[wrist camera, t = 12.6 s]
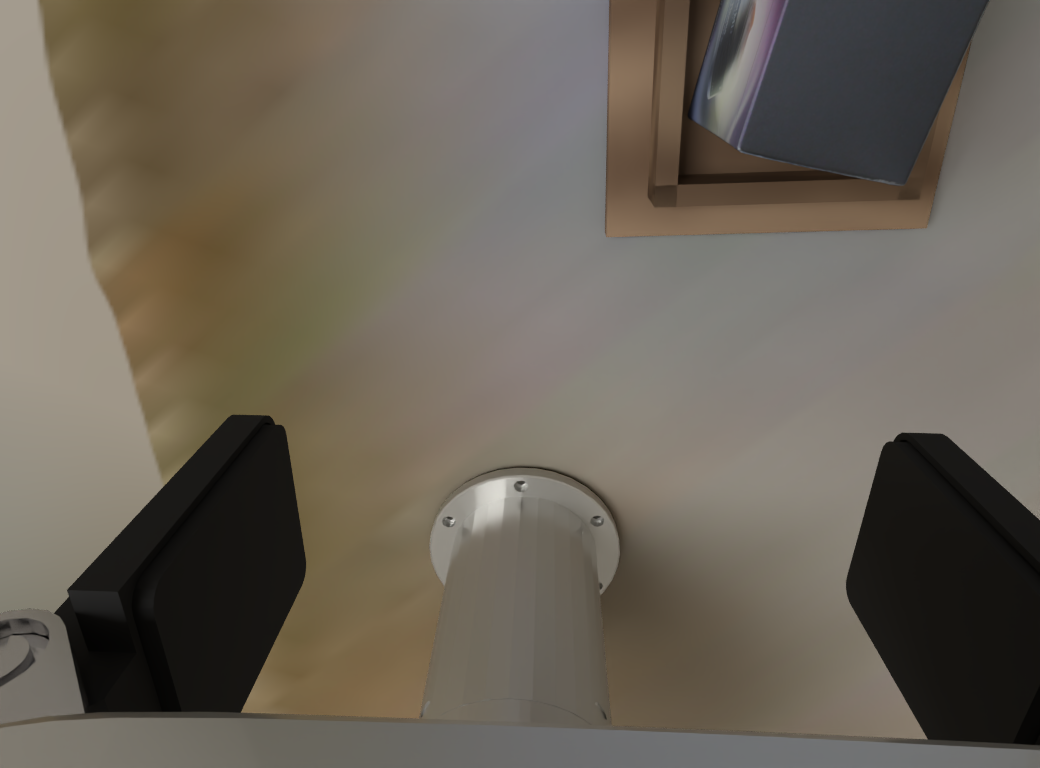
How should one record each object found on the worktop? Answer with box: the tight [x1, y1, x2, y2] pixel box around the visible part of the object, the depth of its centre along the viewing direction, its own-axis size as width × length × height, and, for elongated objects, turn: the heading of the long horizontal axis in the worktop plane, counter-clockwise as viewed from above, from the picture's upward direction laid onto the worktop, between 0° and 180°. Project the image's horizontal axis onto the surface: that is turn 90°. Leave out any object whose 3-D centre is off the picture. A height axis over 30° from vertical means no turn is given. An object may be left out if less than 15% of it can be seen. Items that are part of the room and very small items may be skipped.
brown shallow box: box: [605, 0, 972, 237], centre depth 29 cm, size 20×16×4 cm
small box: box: [688, 0, 989, 186], centre depth 25 cm, size 11×6×10 cm, turn 169°
